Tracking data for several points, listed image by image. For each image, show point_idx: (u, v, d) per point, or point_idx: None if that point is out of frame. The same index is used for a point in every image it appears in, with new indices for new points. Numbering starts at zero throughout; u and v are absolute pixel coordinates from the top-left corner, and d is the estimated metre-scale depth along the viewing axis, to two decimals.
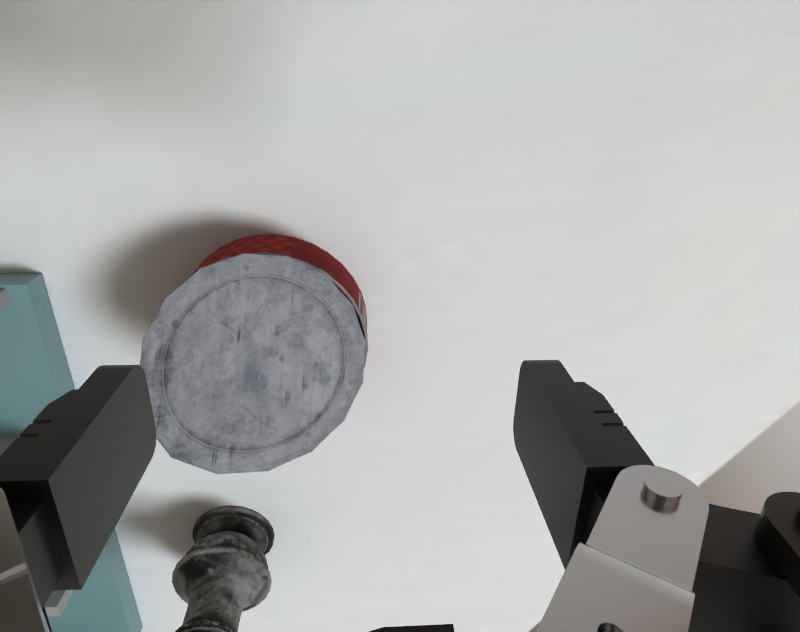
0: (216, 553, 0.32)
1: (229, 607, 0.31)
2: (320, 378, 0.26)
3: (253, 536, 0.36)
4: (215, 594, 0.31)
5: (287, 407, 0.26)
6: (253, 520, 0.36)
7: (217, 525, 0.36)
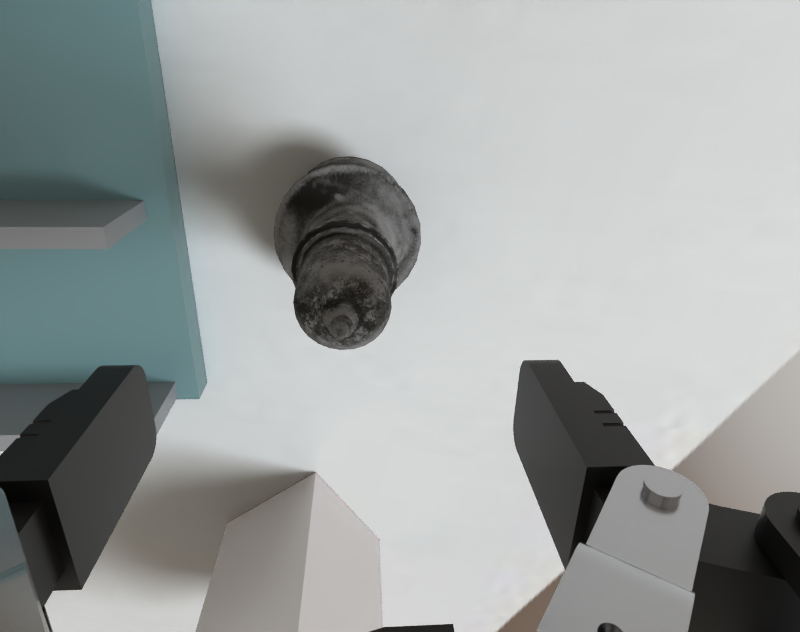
0: (347, 174, 0.21)
1: None
2: None
3: None
4: (351, 215, 0.20)
5: None
6: None
7: None
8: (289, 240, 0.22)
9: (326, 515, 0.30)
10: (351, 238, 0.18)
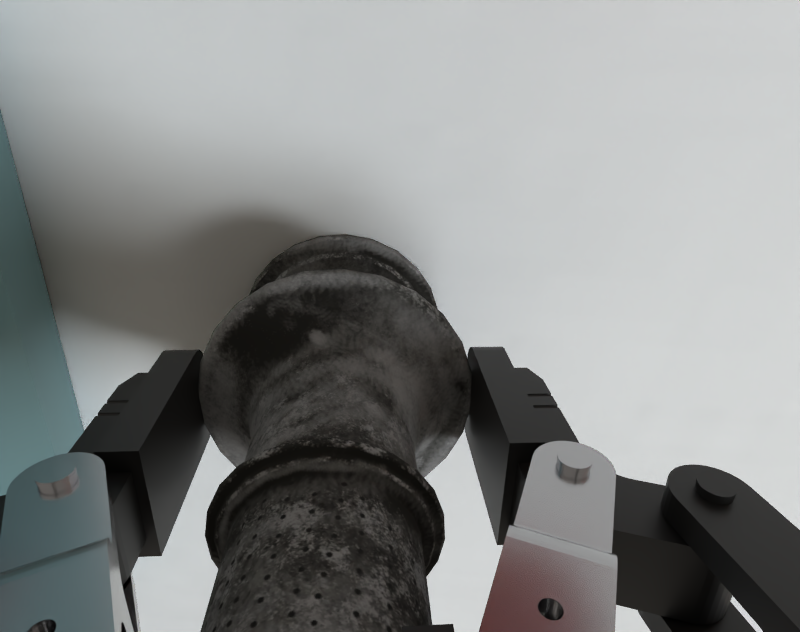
0: (335, 289, 0.11)
1: (394, 428, 0.09)
2: None
3: None
4: (342, 390, 0.10)
5: None
6: (400, 274, 0.14)
7: None
8: (226, 408, 0.12)
9: None
10: (338, 497, 0.07)
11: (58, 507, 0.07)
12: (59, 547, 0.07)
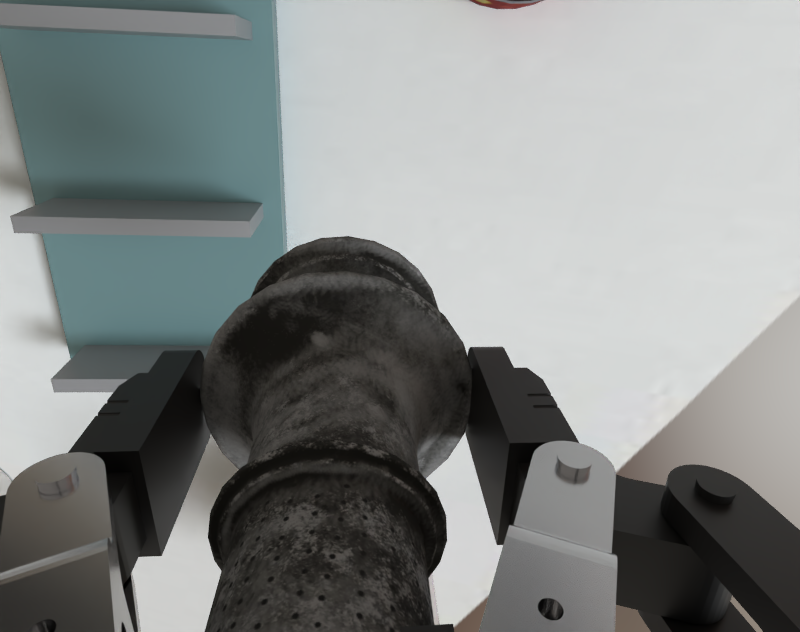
0: (336, 291, 0.11)
1: (395, 430, 0.09)
2: None
3: None
4: (345, 392, 0.10)
5: None
6: (401, 275, 0.14)
7: None
8: (228, 409, 0.12)
9: None
10: (341, 498, 0.07)
11: (58, 507, 0.07)
12: (59, 547, 0.07)
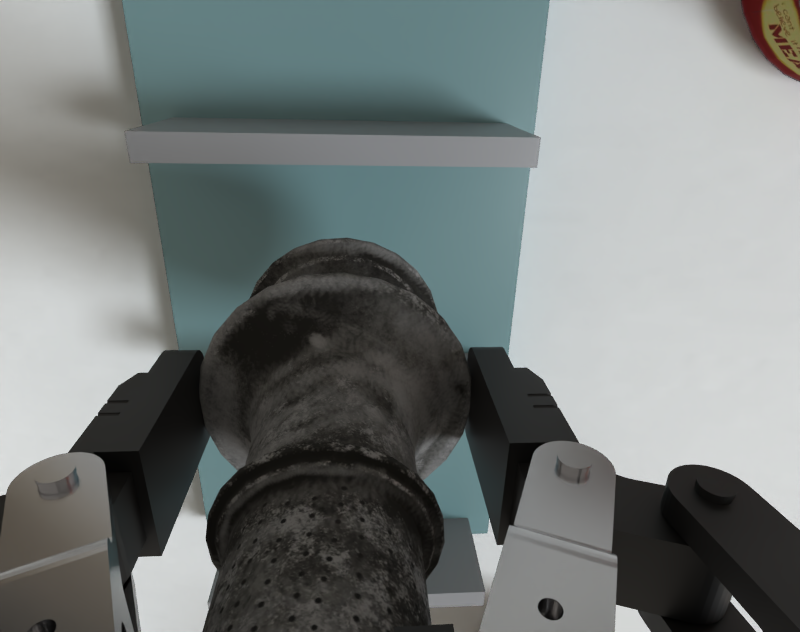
0: (334, 293, 0.11)
1: (393, 431, 0.09)
2: None
3: None
4: (342, 393, 0.10)
5: None
6: (400, 276, 0.14)
7: None
8: (227, 411, 0.12)
9: None
10: (338, 501, 0.07)
11: (59, 507, 0.07)
12: (59, 546, 0.07)
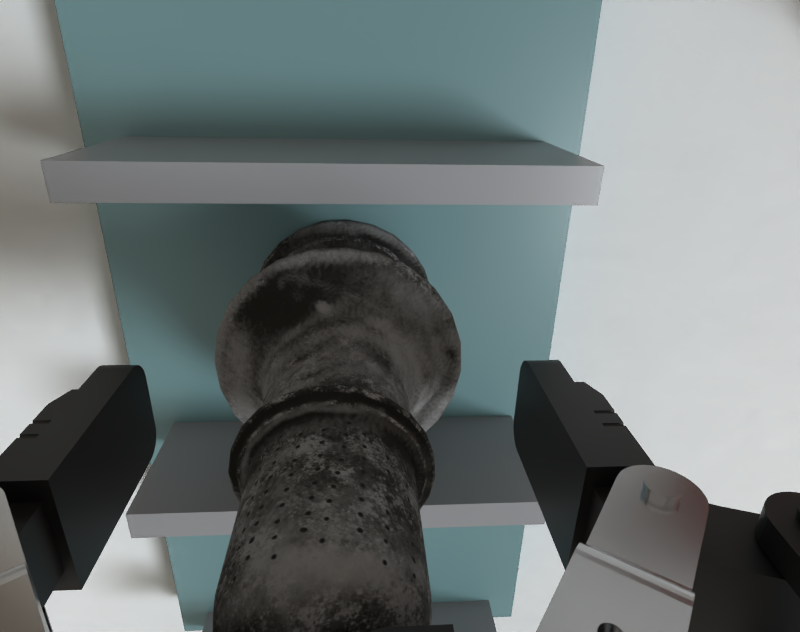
0: (338, 265, 0.12)
1: (391, 383, 0.11)
2: None
3: None
4: (346, 351, 0.11)
5: None
6: (396, 255, 0.16)
7: None
8: (240, 372, 0.13)
9: None
10: (344, 432, 0.09)
11: None
12: None
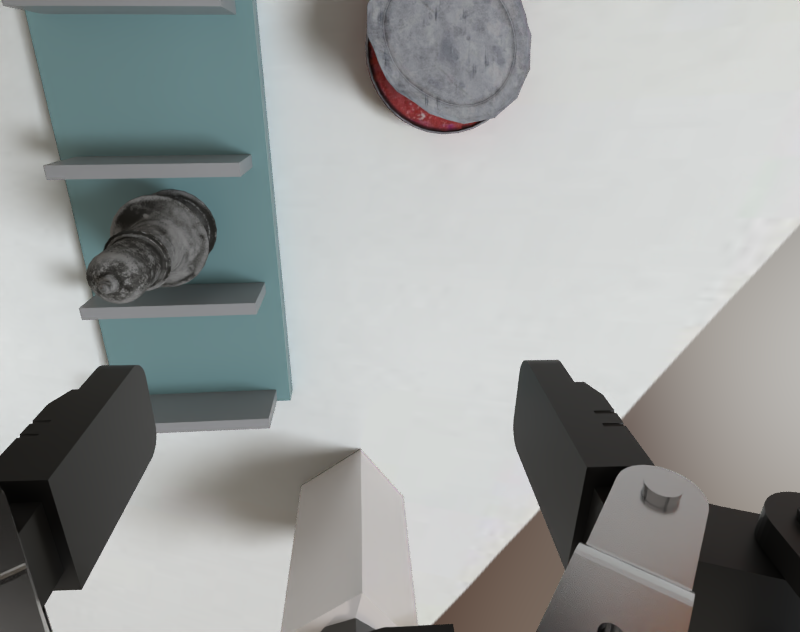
0: (151, 201, 0.33)
1: (161, 236, 0.32)
2: (497, 60, 0.32)
3: None
4: (147, 227, 0.32)
5: (474, 78, 0.31)
6: (194, 204, 0.37)
7: None
8: None
9: (369, 475, 0.46)
10: (132, 240, 0.30)
11: None
12: None
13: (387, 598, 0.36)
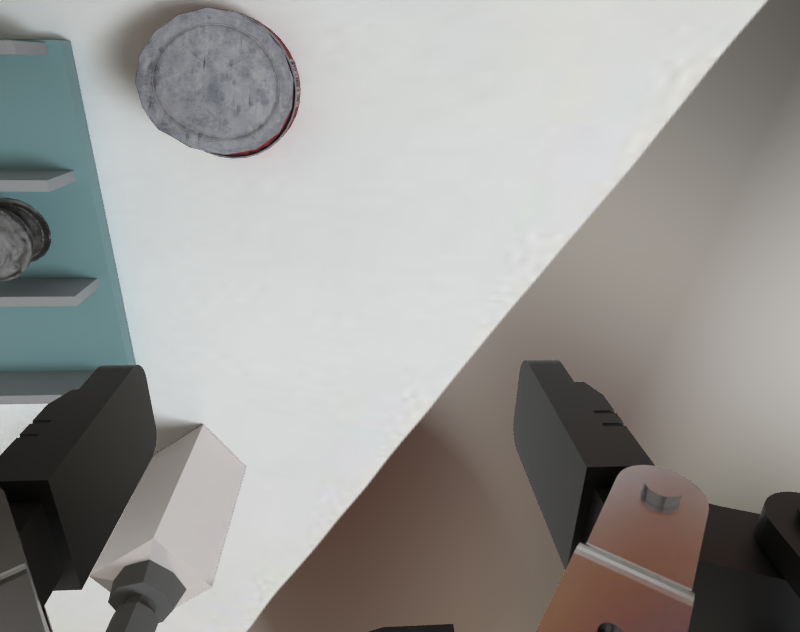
0: None
1: None
2: (261, 100, 0.38)
3: (29, 228, 0.44)
4: None
5: (238, 116, 0.38)
6: (28, 211, 0.43)
7: None
8: None
9: (205, 446, 0.53)
10: None
11: None
12: None
13: (184, 545, 0.44)
